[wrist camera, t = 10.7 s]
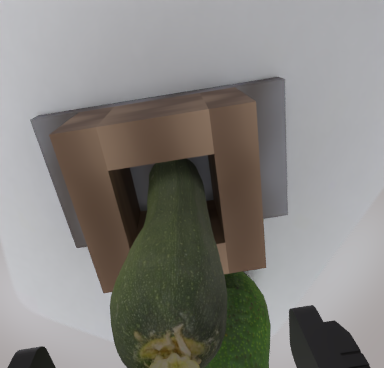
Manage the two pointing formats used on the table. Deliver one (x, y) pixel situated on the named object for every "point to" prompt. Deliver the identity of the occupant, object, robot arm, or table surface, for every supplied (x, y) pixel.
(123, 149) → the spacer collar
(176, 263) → the vegetable
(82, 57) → the table surface
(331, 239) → the table surface
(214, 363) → the avocado
